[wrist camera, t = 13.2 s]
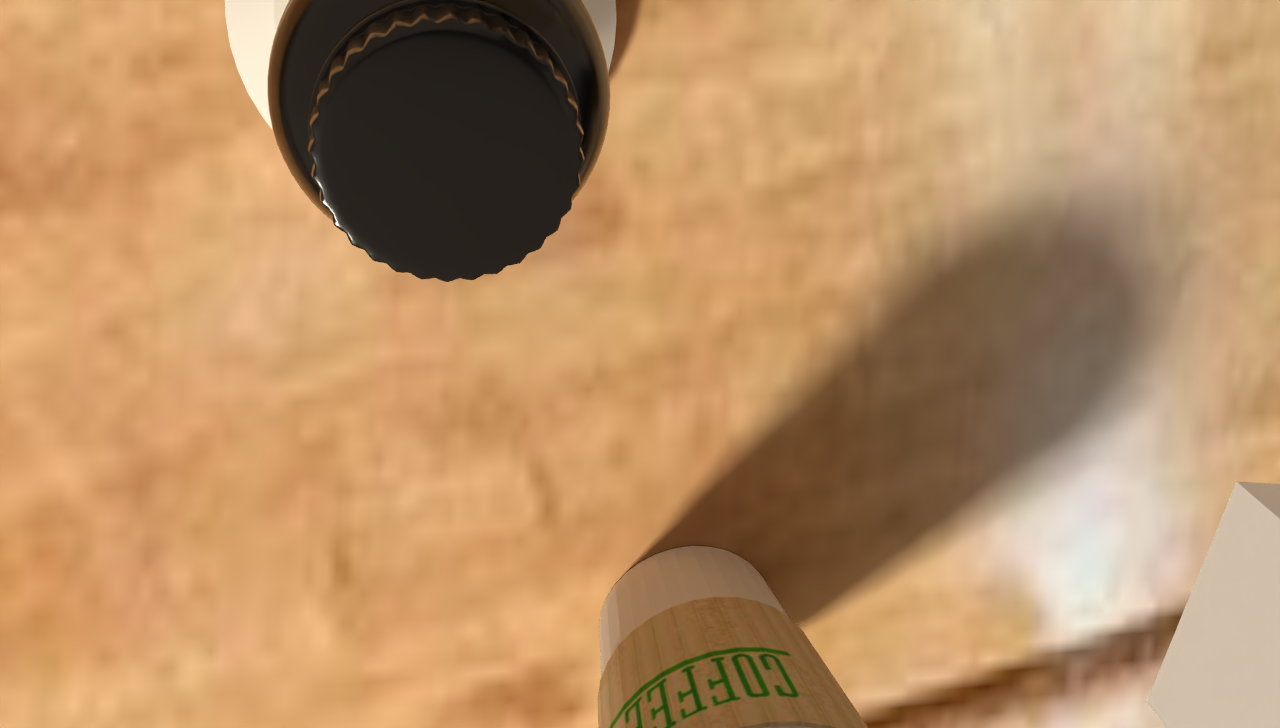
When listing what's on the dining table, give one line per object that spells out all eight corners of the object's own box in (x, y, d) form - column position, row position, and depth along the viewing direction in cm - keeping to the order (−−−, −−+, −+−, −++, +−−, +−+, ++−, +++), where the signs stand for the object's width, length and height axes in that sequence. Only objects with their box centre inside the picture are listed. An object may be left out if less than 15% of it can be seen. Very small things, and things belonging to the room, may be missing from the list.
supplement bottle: (243, 39, 31) (155, 181, 20) (406, -182, 30) (404, -154, 19) (459, 200, 34) (481, 398, 23) (619, 5, 32) (721, 122, 22)
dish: (454, -280, 30) (456, -282, 29) (679, 50, 34) (689, 59, 33) (146, -28, 31) (135, -21, 30) (401, 259, 36) (401, 275, 35)
